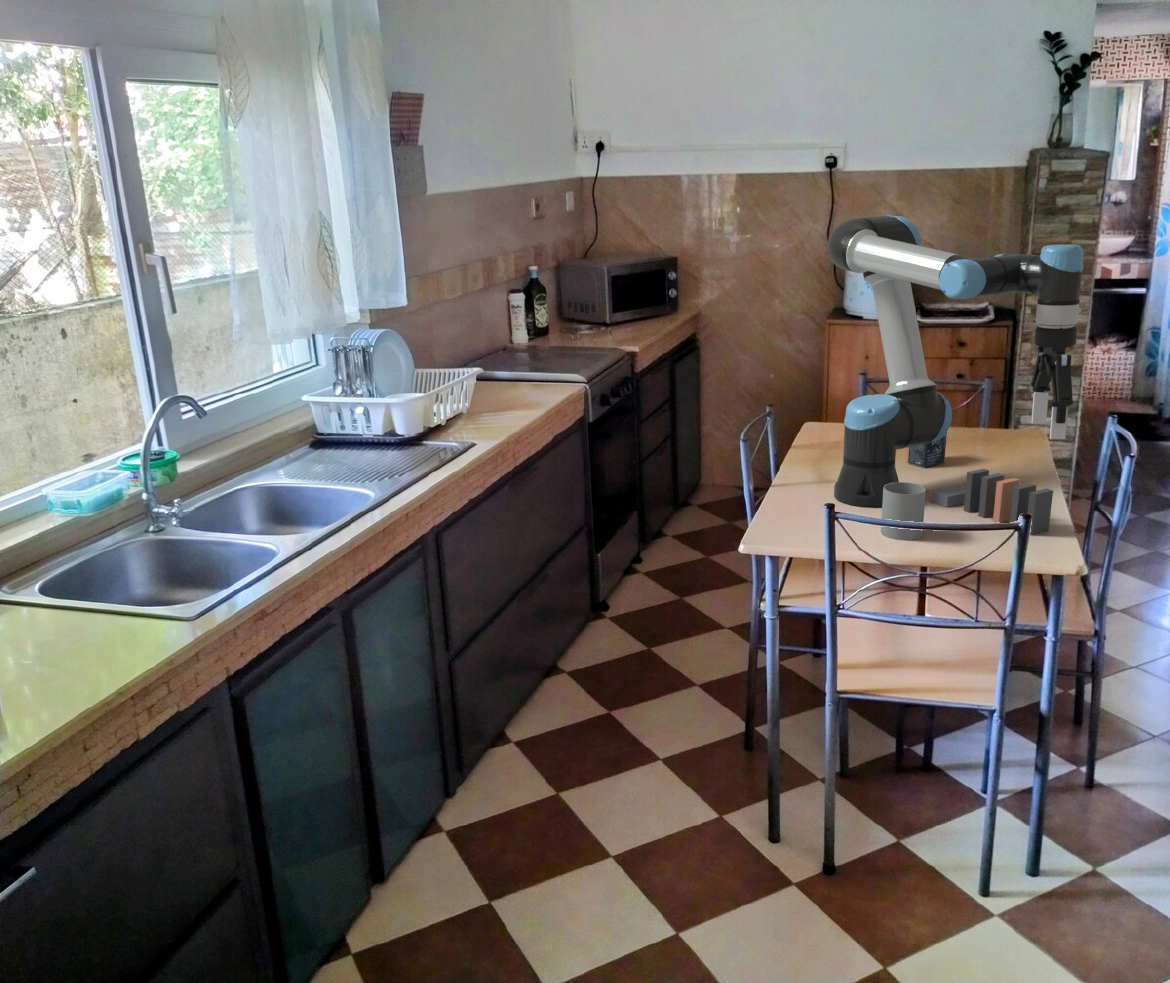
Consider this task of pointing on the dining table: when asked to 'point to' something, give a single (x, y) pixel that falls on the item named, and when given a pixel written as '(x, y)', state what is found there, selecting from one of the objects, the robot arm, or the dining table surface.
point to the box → (928, 453)
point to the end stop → (950, 496)
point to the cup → (903, 508)
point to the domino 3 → (1004, 499)
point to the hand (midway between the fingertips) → (1047, 430)
